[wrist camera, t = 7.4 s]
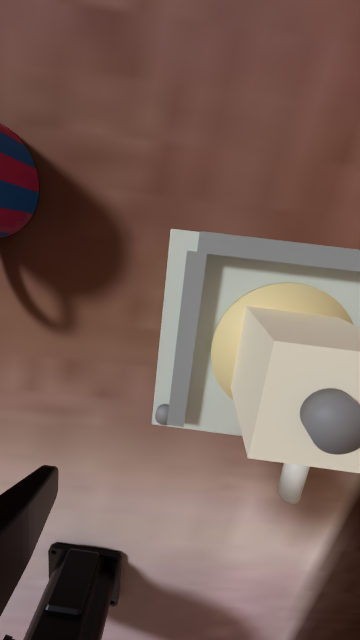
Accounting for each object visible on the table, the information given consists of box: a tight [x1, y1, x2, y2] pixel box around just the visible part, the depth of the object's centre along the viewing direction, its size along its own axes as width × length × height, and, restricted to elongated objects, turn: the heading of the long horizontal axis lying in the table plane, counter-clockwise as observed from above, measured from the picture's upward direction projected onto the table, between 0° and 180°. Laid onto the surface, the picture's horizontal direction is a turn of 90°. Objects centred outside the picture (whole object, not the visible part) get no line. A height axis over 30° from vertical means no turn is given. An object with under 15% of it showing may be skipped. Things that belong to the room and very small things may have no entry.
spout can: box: [231, 306, 360, 504], centre depth 13 cm, size 8×5×6 cm, turn 173°
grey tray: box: [152, 229, 360, 436], centre depth 17 cm, size 12×14×4 cm
